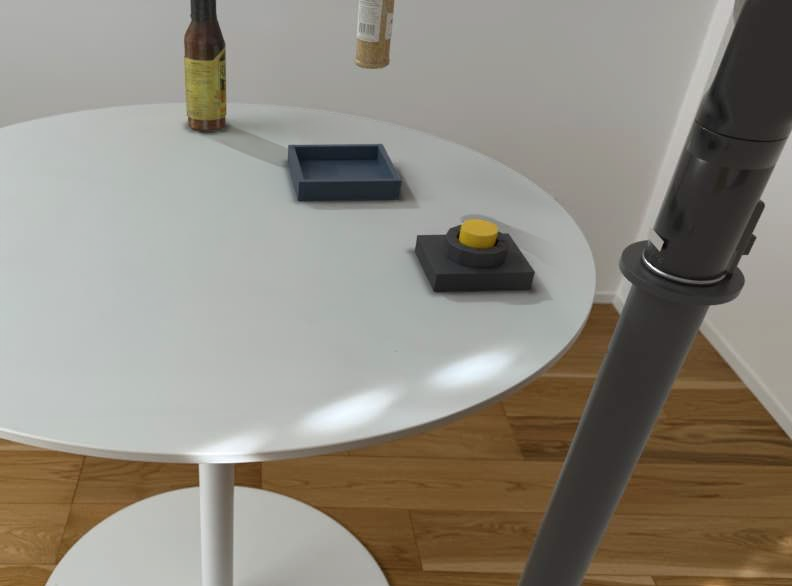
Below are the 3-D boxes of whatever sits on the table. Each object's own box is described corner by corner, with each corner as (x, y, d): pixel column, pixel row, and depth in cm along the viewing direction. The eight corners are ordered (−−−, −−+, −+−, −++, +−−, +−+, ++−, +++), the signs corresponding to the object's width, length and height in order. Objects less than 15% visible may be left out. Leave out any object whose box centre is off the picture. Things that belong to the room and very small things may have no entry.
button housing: (504, 249, 94) (512, 219, 91) (530, 289, 87) (539, 257, 85) (414, 251, 93) (419, 220, 91) (433, 291, 86) (439, 259, 84)
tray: (380, 161, 114) (382, 143, 112) (399, 199, 104) (401, 180, 103) (287, 162, 113) (288, 144, 111) (297, 200, 103) (298, 182, 102)
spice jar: (396, 66, 100) (408, -54, 92) (368, 72, 99) (378, -50, 90) (374, 57, 104) (384, -60, 95) (346, 63, 102) (354, -56, 93)
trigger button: (488, 232, 90) (491, 218, 88) (499, 249, 87) (503, 235, 85) (454, 233, 89) (457, 219, 88) (464, 250, 86) (467, 236, 85)
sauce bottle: (230, 131, 122) (230, -10, 109) (190, 134, 120) (185, -9, 108) (221, 117, 126) (220, -21, 114) (183, 119, 125) (178, -19, 113)
